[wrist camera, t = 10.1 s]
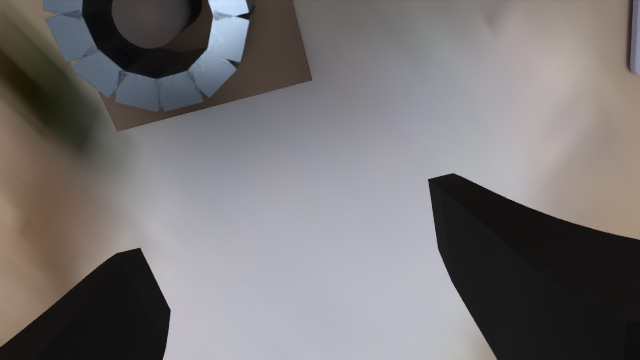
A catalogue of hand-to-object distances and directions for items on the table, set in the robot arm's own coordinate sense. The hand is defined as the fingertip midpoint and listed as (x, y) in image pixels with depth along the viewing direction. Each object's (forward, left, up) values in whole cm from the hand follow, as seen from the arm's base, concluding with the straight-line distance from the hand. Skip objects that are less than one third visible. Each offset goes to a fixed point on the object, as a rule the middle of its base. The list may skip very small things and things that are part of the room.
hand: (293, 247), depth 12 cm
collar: (+3, -6, -9) cm, 11 cm away
